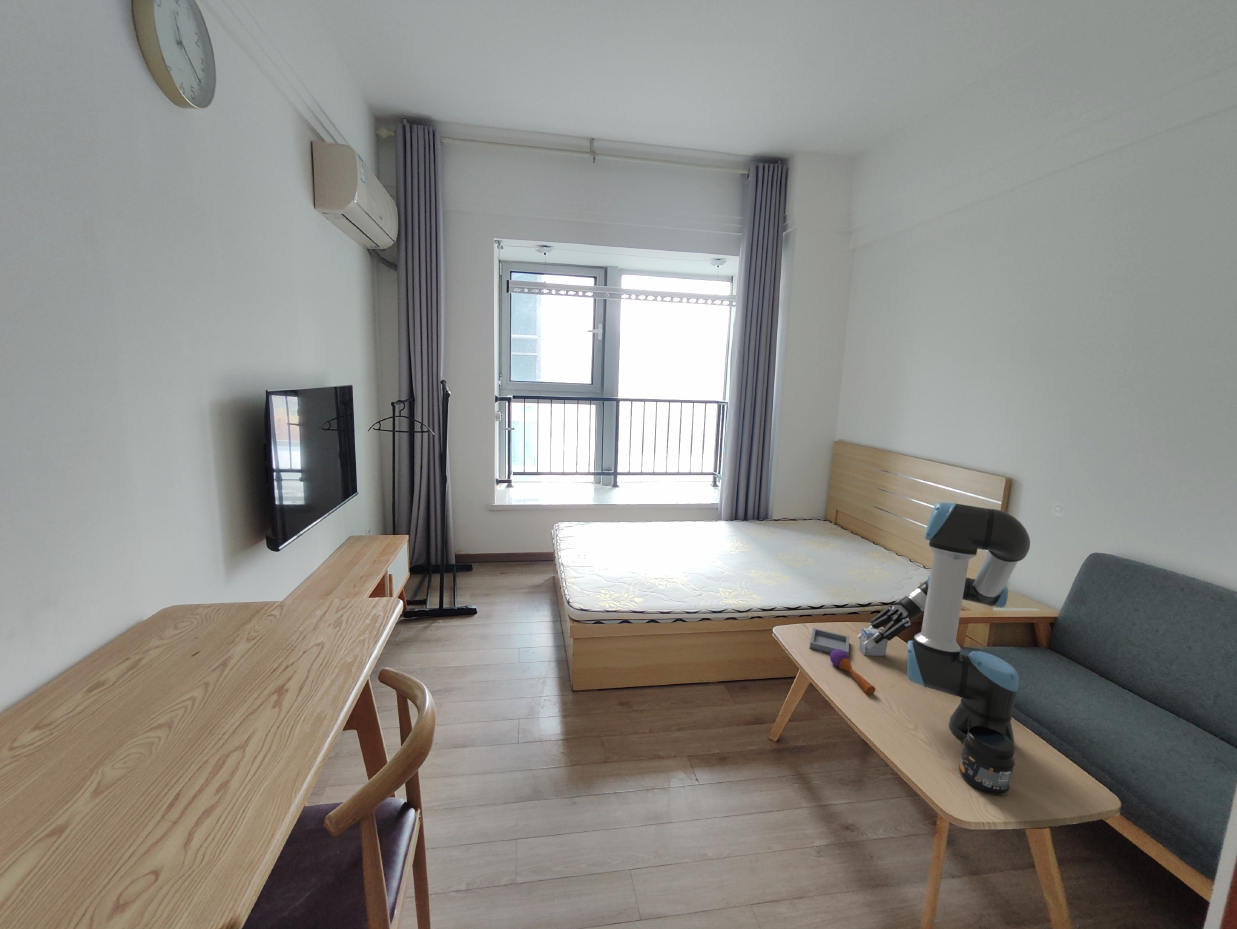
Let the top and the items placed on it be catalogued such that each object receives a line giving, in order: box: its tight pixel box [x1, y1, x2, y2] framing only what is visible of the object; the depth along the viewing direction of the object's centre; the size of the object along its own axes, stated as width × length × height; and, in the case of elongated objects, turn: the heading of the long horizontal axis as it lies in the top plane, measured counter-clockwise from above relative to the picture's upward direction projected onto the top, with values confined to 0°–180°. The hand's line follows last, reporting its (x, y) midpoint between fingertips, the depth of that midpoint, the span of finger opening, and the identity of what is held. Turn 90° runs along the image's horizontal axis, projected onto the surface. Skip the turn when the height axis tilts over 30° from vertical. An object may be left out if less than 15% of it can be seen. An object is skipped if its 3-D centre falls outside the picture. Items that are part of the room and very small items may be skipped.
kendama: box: [829, 649, 876, 696], centre depth 172 cm, size 6×6×20 cm
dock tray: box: [809, 627, 850, 656], centre depth 193 cm, size 13×13×2 cm
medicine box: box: [858, 627, 888, 657], centre depth 188 cm, size 8×4×9 cm, turn 90°
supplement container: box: [958, 726, 1016, 796], centre depth 128 cm, size 10×10×12 cm
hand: (863, 642), depth 189 cm, fingers closed on medicine box, 4 cm apart
